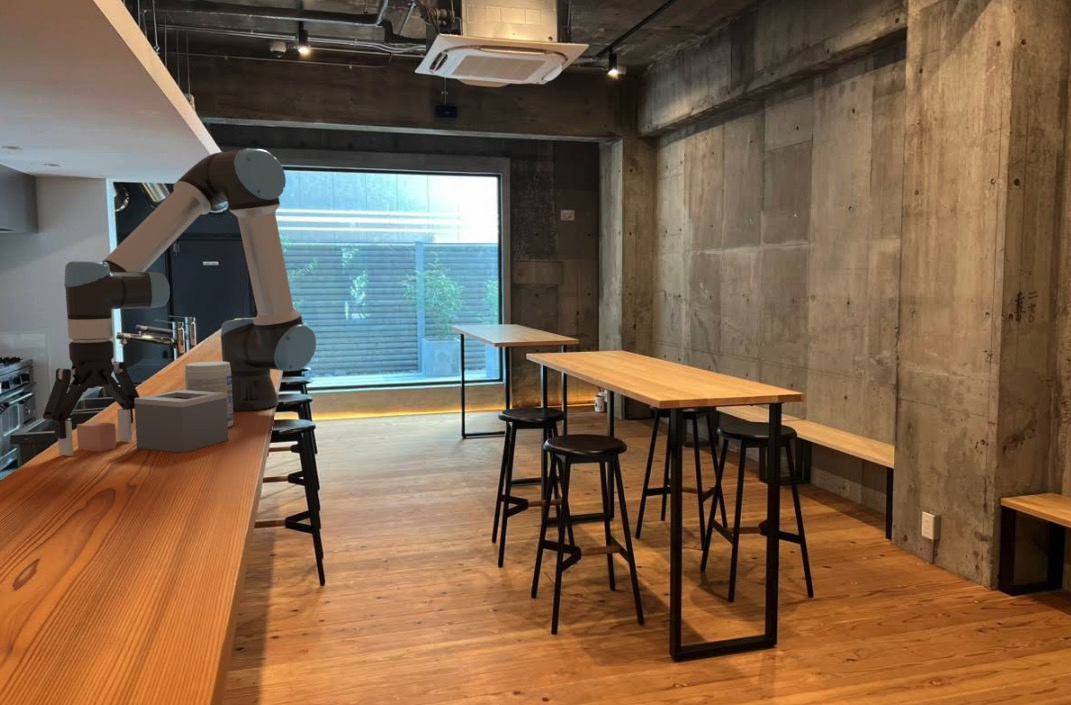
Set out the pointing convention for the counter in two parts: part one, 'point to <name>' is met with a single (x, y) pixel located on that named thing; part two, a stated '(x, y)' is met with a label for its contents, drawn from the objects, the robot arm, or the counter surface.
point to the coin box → (181, 420)
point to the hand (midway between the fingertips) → (97, 447)
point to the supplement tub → (211, 380)
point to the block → (96, 436)
